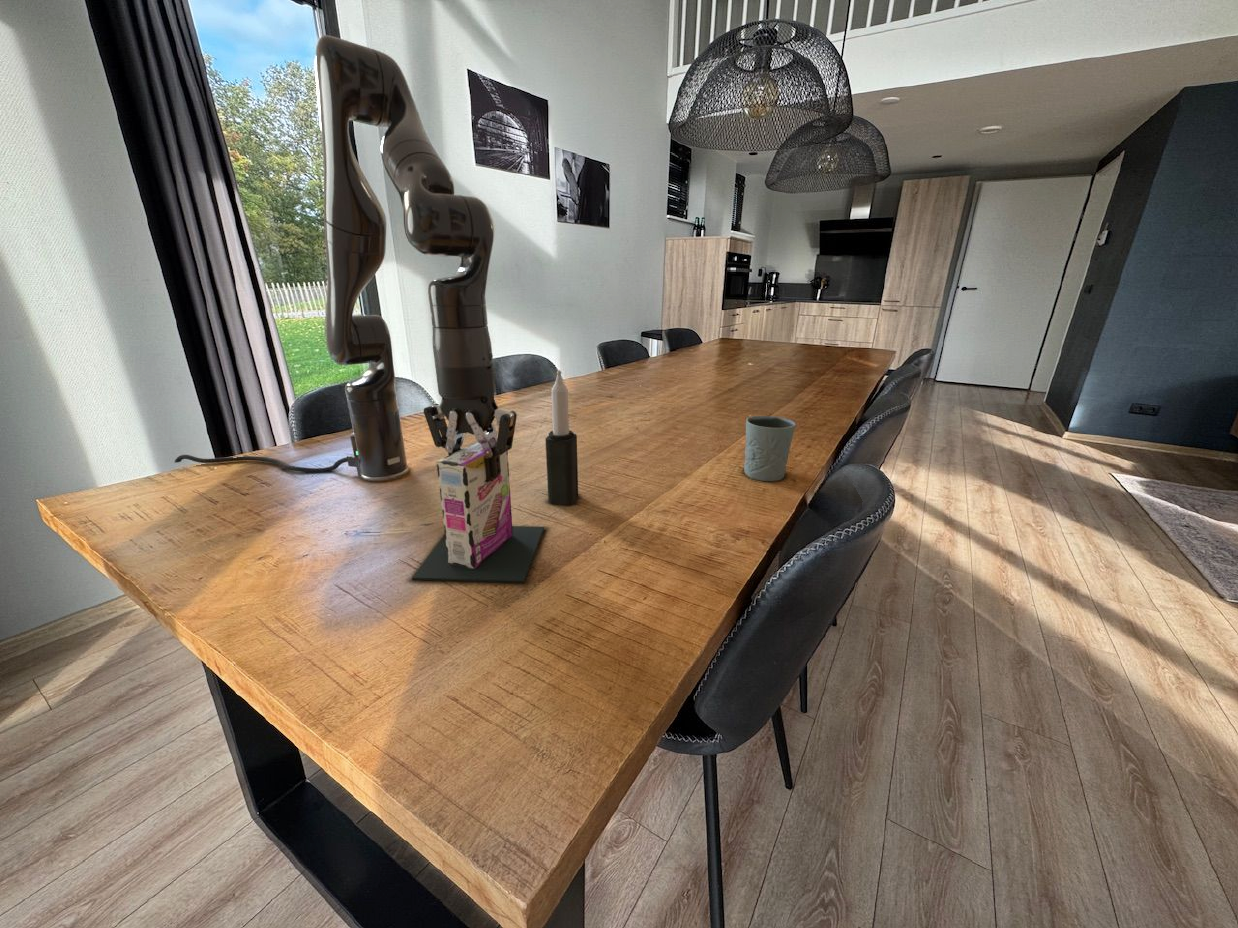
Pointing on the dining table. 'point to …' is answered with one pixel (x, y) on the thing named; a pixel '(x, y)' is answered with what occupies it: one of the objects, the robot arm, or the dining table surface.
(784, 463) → the grey green embossed cup
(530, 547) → the mat
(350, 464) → the robot arm
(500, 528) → the candy bar box
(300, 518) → the dining table surface
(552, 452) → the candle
